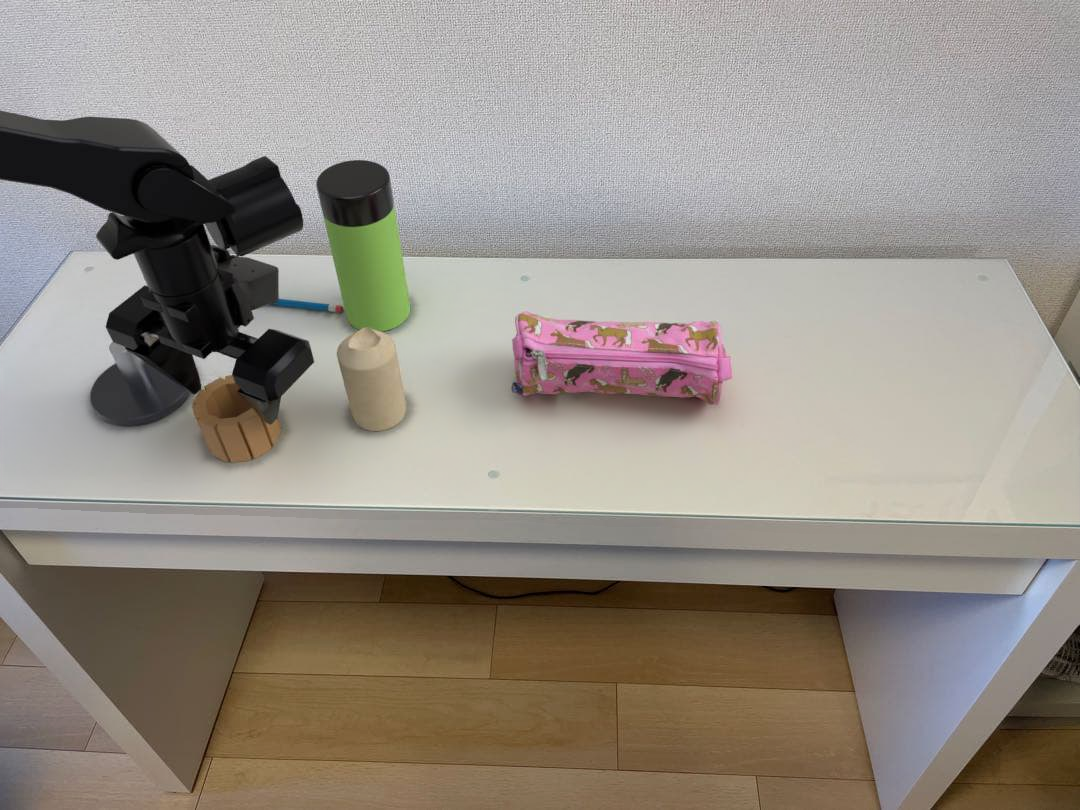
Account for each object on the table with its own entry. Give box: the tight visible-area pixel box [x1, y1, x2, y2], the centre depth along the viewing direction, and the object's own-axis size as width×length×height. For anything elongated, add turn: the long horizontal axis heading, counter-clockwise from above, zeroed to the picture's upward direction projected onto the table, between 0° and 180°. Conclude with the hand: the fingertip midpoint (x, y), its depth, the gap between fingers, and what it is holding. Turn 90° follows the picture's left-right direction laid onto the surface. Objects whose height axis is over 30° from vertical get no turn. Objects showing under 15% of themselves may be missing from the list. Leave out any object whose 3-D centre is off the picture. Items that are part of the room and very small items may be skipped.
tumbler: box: [315, 159, 411, 332], centre depth 91 cm, size 8×8×17 cm
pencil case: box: [510, 311, 733, 406], centre depth 85 cm, size 21×9×9 cm, turn 85°
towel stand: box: [89, 341, 191, 427], centre depth 87 cm, size 10×10×6 cm
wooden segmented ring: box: [191, 374, 283, 464], centre depth 83 cm, size 7×7×5 cm
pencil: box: [268, 298, 344, 314], centre depth 98 cm, size 1×17×1 cm, turn 80°
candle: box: [336, 327, 407, 432], centre depth 83 cm, size 6×6×10 cm
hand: (234, 405), depth 82 cm, fingers open, 9 cm apart
